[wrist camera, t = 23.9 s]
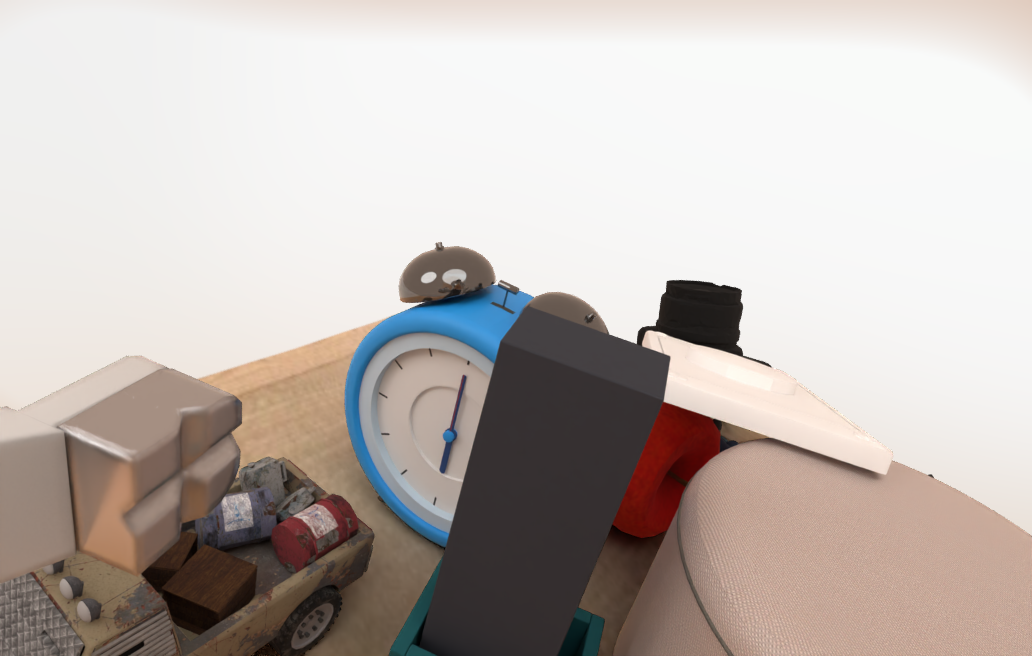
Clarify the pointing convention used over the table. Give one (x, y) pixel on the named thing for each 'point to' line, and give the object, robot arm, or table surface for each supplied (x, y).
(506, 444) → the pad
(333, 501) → the toy vehicle
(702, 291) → the film camera
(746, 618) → the container
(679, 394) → the light switch
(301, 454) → the table surface
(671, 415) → the apple
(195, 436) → the robot arm
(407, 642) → the teal storage bin
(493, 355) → the alarm clock
